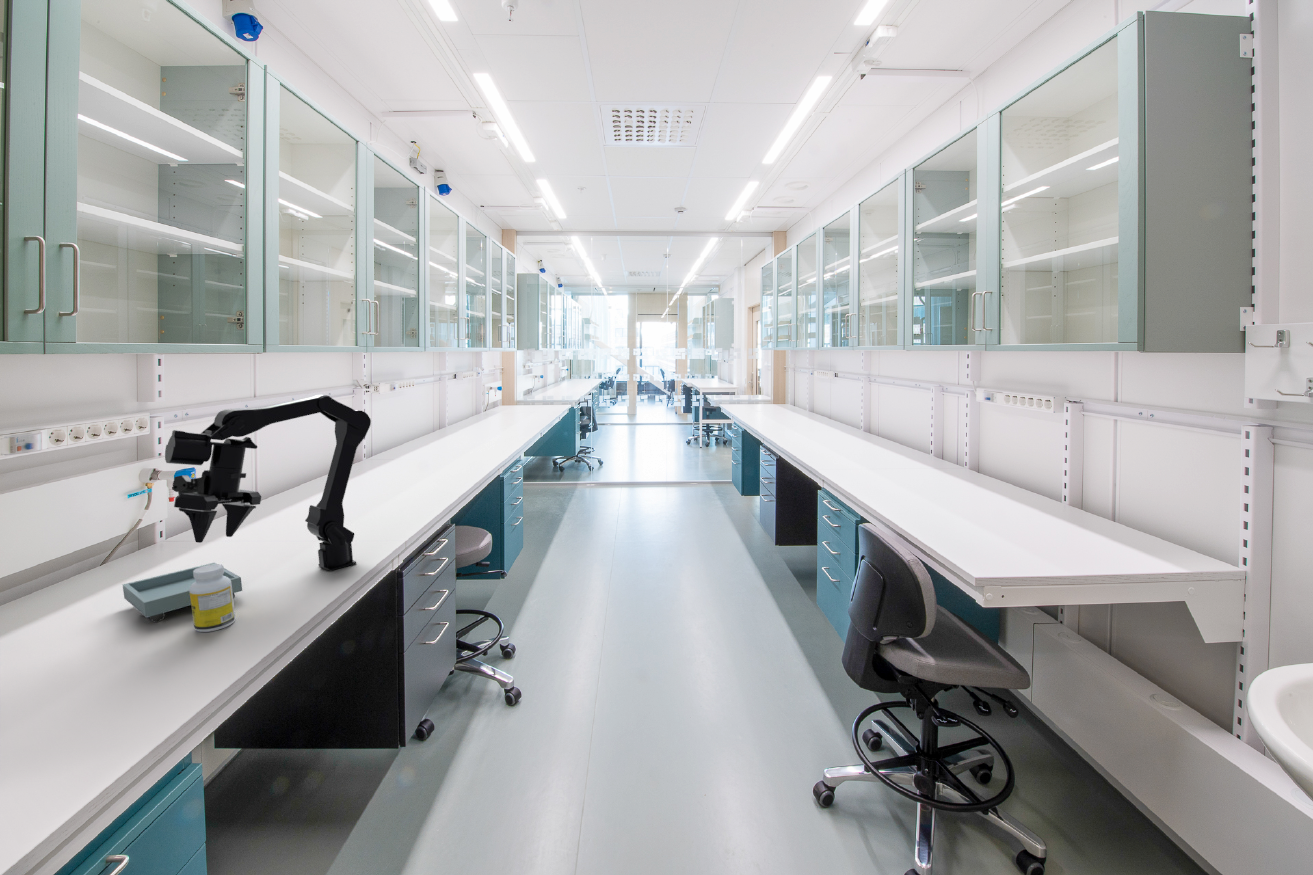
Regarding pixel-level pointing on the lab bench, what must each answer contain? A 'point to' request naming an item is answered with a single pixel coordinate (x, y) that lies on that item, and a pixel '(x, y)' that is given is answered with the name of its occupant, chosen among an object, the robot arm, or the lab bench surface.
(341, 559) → the robot arm
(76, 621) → the lab bench surface
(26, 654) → the lab bench surface
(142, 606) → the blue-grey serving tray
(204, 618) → the pill bottle
